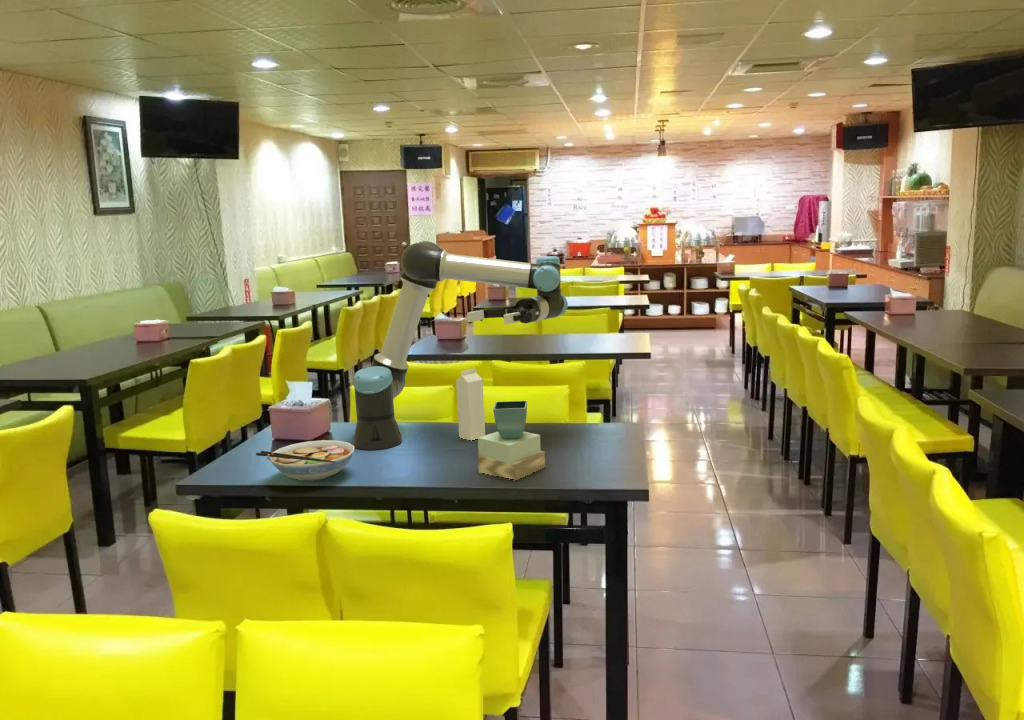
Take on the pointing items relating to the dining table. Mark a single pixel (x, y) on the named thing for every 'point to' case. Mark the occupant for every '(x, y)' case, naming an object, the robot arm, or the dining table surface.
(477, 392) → the milk
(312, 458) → the ramen bowl
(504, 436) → the flower pot
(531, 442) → the sage block
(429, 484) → the dining table surface
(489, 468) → the maple block
